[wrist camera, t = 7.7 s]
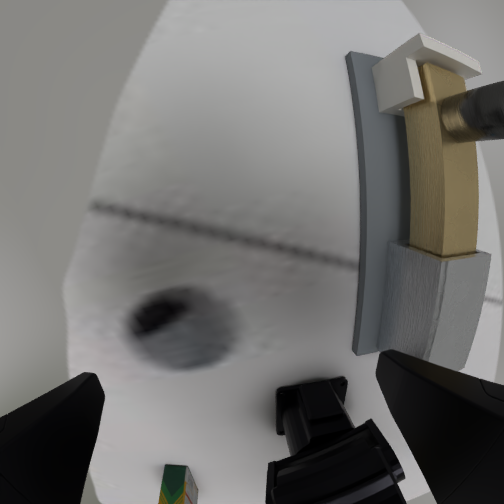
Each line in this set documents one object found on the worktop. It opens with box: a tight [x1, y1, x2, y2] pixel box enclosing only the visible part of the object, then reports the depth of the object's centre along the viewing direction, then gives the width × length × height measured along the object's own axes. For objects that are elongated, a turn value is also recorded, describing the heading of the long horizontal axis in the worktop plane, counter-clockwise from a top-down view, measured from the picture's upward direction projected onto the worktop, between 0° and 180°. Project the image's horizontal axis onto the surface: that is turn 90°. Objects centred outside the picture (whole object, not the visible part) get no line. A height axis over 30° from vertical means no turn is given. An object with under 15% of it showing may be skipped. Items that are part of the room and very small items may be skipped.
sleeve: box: [376, 239, 491, 371], centre depth 17 cm, size 9×5×6 cm, turn 3°
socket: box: [372, 33, 482, 117], centre depth 13 cm, size 4×6×6 cm, turn 93°
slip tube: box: [403, 63, 504, 258], centre depth 12 cm, size 14×4×9 cm, turn 3°
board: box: [345, 51, 411, 356], centre depth 19 cm, size 24×9×1 cm, turn 3°
